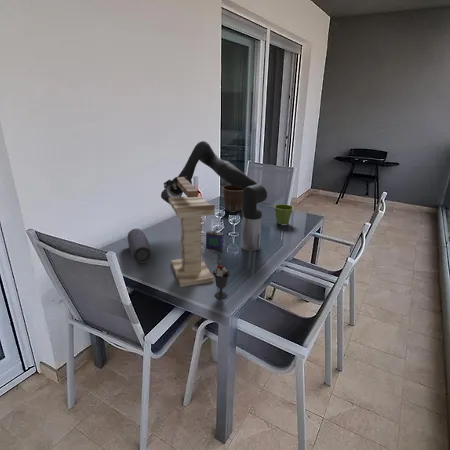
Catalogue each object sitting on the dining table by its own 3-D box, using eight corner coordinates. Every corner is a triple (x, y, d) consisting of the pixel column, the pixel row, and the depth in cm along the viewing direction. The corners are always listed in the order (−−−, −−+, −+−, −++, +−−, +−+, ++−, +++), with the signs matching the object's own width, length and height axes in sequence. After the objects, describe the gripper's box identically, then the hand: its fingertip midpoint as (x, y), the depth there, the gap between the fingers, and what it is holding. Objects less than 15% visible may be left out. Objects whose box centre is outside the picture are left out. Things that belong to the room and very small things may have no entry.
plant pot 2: (294, 223, 200) (296, 206, 196) (287, 228, 191) (289, 211, 186) (277, 219, 206) (278, 202, 202) (269, 224, 196) (271, 207, 192)
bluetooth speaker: (127, 246, 162) (125, 228, 158) (145, 244, 165) (144, 226, 162) (132, 267, 142) (130, 247, 139) (153, 264, 146) (152, 244, 142)
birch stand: (171, 264, 146) (168, 193, 133) (200, 260, 150) (200, 191, 138) (180, 287, 128) (178, 207, 116) (213, 281, 133) (214, 204, 120)
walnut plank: (175, 182, 143) (175, 177, 142) (184, 182, 144) (184, 176, 143) (187, 197, 122) (187, 191, 121) (198, 196, 123) (197, 190, 122)
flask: (223, 249, 162) (224, 229, 158) (222, 251, 160) (222, 232, 156) (206, 246, 164) (206, 227, 161) (204, 249, 162) (204, 229, 158)
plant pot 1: (242, 214, 212) (243, 191, 206) (219, 212, 215) (219, 189, 209) (246, 207, 226) (247, 185, 221) (224, 205, 230) (225, 183, 224)
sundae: (211, 290, 126) (212, 257, 121) (228, 290, 127) (229, 257, 122) (212, 300, 120) (213, 266, 115) (230, 300, 121) (231, 265, 115)
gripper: (160, 182, 153) (164, 171, 137) (188, 180, 157) (196, 169, 141) (161, 197, 152) (166, 188, 136) (190, 195, 156) (198, 186, 140)
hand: (181, 178), depth 138 cm, fingers closed on walnut plank, 4 cm apart
